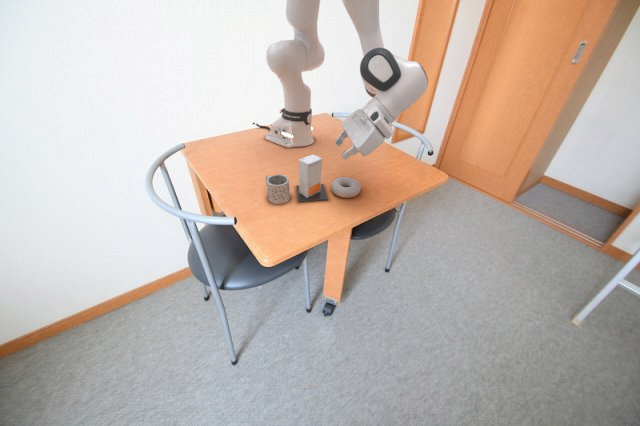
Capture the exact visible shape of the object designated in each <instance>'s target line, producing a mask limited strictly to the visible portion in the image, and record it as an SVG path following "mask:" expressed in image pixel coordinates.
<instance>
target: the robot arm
mask: <svg viewBox="0 0 640 426" xmlns="http://www.w3.org/2000/svg"><path fill="white" fill-rule="evenodd" d="M341 2H342V4H343V6H344V8H345V10H346V12H347V14H348V16H349V18H350V20H351V22H352V24H353V26H354V28H355V31H356V33H357V35H358V38H359V42H360V46H361V50H362V55H363V57H362V59H361V61H360V65H359V72H360V73H359V74H360V77H361V80H362V83H363V85H364V90H365V91H366V93H367V95H368V96H369V97H371V99H370V100H369V101H367V103H365V105H364V106H363V107H361V108H358V109H356V110H355V111H353V112H351V114H350V115H349V116H347V117H346V118H345V119H344V120H343V121H342V122H341V127H342V128H343V129H342V130H341V132H340V134H339V136H338V137H337V138H336V139H335V140H334V143H335V145H337V146H338V147H340V146H341V145H342V144H343V143H344V141H345V139H347V138H349V139H350V141H351V143H352V145H351V146H350V148H348V149H347V150H346V149H345V150H344V151H343V152H341V157H342V158H343V159H344V160H348V159H349V158H350V157H353V156H355V155H357V154H358V153H359V154H360V155H361V156H362V157H366V156H368V155H371V154H372V153H373V152H374V151H376V149H378V148H379V147H380V146H381V145H382V144H383V143H384V142H385V139H386V140H388V139H390V138H391V137H392V136H393V135H394V132H393V123H394V122H395V121H396V120H397V119H398V118H399V116H400V115H401V114H403V113H404V112H406V111H408V110H409V109H410V108H411V107H412V106H413V105H415V103H416V102H418V100H420V98H421V97H422V96H423V95H424V93H425V92H426V91H427V89H428V86H429V78H428V75H427V72H426V71H425V69H424V67H423V65H421V64H420V62H418V61H416V60H407V59H405V58H402V57H400V56H398V55H396V54H394V53H392V52H391V50H388V49H387V48H385V45H384V40H383V35H382V31H381V26H380V0H341ZM320 5H321V0H286V6H285V18H286V20H287V22H288V24H289V25H290V26H291V27H292V28H293V35H294V36H293V39H287V40H286V39H285V40H284V39H283V40H278V41H276V42H274V43H272V44H269V46H268V47H267V50H266V55H265V56H266V57H265V61H266V63H267V66H268V68H269V70H270V71H271V72H273V74H274V75H276V77H277V78H278V80H279V82H280V84H281V87H282V90H283V100H284V101H283V103H284V107H282V109H280V110H279V114H281V116H280V117H278V118H277V119H276V120H275V121H273V122H272V123H271V124H270V127H269V126H266V125H260V124H258V123H257V124H255V123H254V122H252V125H255V126H257V127H258V128H262V129H267V130H268V131H269V133H267V134H266V135H265V140H267V141H268V142H272V143H273V144H277V145H279V146H282V147H284V148H287V149H291V148H298V147H306V146H310V145H312V144H313V143H314V142H315V139H314V134H313V130H314V128H313V127H312V121H313V110H312V90H311V88H310V87H309V85H307V83H304V79H303V75H302V73H305V72H311V71H315V70H316V69H318V68H320V67H321V66H322V65H323V63H324V61H325V56H326V54H325V49H324V46H323V44H322V43H321V41H320V38H319V32H318V20H319V13H320Z"/></svg>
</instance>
